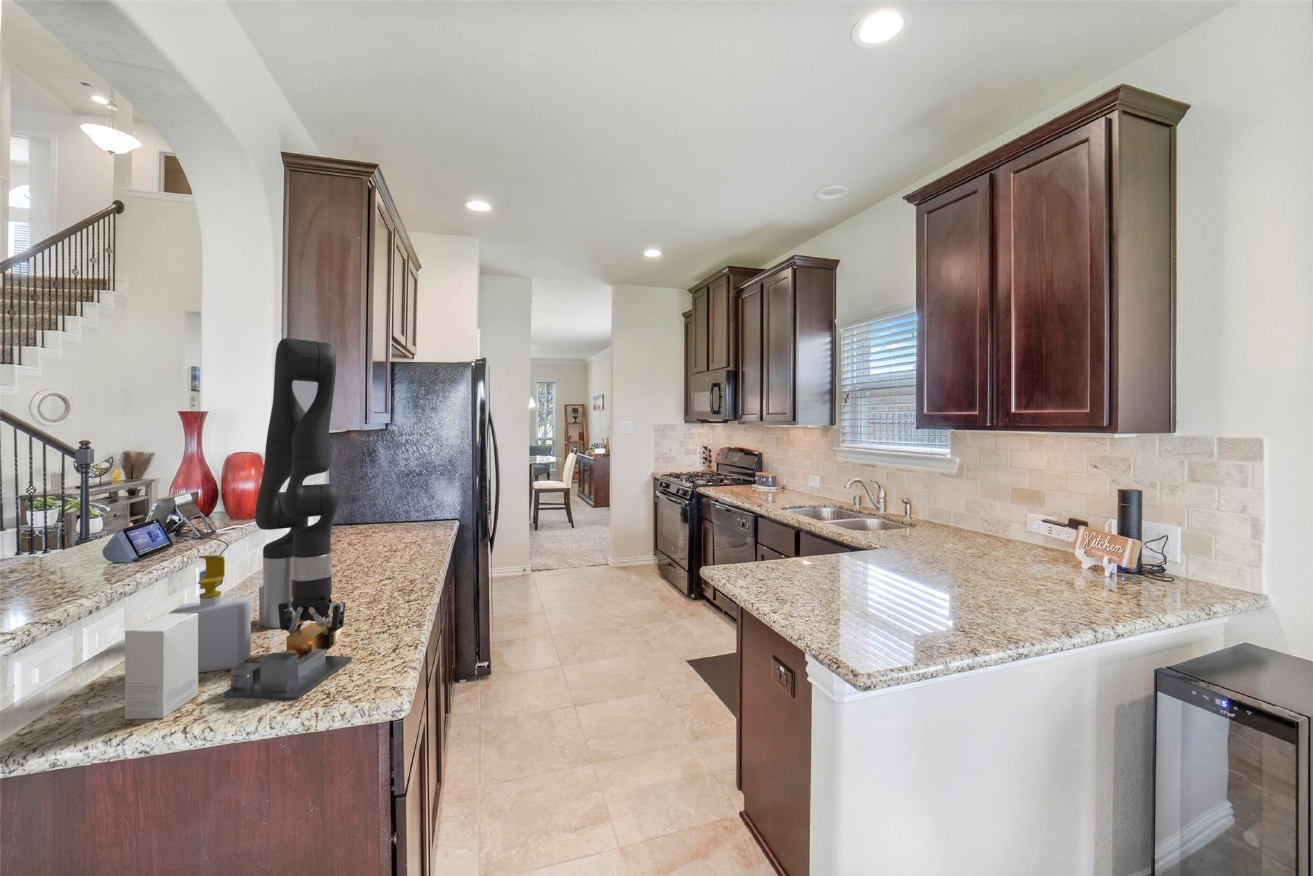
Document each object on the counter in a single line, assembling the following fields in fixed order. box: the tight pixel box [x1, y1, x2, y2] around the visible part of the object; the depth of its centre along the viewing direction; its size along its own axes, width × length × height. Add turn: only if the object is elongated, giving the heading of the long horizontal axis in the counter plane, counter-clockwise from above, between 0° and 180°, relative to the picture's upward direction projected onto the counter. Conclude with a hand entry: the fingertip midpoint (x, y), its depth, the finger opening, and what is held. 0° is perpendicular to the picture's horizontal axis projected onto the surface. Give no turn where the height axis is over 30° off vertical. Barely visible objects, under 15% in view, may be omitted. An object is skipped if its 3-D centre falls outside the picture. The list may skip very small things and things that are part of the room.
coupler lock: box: [286, 622, 337, 655], centre depth 117 cm, size 6×8×5 cm
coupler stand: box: [223, 649, 352, 700], centre depth 105 cm, size 14×16×7 cm
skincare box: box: [124, 613, 199, 720], centre depth 94 cm, size 8×7×16 cm
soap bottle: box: [167, 554, 252, 673], centre depth 110 cm, size 12×7×23 cm, turn 108°
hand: (312, 648), depth 117 cm, fingers open, 6 cm apart
